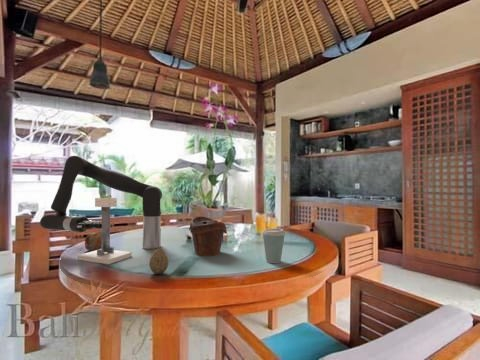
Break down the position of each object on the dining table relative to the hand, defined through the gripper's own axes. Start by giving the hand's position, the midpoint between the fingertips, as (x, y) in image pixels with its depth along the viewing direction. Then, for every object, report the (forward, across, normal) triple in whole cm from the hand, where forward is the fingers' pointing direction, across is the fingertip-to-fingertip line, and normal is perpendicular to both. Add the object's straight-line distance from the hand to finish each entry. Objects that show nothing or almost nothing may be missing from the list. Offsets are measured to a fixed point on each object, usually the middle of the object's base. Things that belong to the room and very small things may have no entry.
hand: (102, 225), depth 132 cm
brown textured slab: (-18, +12, +15) cm, 26 cm away
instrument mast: (+2, 0, +13) cm, 13 cm away
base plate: (+2, 0, +15) cm, 15 cm away
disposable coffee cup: (+75, +27, +16) cm, 82 cm away
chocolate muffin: (+41, +29, +16) cm, 52 cm away
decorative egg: (+38, -9, +16) cm, 42 cm away
